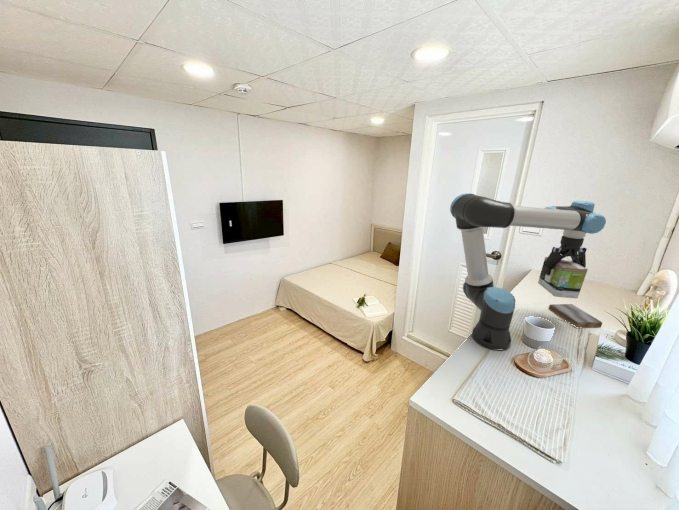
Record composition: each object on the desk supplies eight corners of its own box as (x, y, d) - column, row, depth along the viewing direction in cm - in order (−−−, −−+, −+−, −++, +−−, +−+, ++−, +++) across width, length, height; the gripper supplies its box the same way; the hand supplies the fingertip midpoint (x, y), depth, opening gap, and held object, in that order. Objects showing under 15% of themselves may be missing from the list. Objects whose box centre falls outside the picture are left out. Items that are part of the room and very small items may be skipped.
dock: (575, 328, 124) (577, 322, 123) (548, 309, 140) (549, 304, 139) (600, 327, 124) (602, 322, 123) (570, 308, 140) (571, 303, 139)
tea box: (578, 299, 117) (589, 268, 112) (553, 297, 119) (562, 267, 114) (559, 284, 131) (567, 257, 126) (536, 283, 133) (544, 255, 128)
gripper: (591, 233, 119) (576, 277, 127) (541, 234, 119) (529, 278, 126) (607, 238, 112) (590, 284, 120) (554, 239, 112) (541, 284, 119)
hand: (559, 281), depth 123 cm, fingers closed on tea box, 11 cm apart
